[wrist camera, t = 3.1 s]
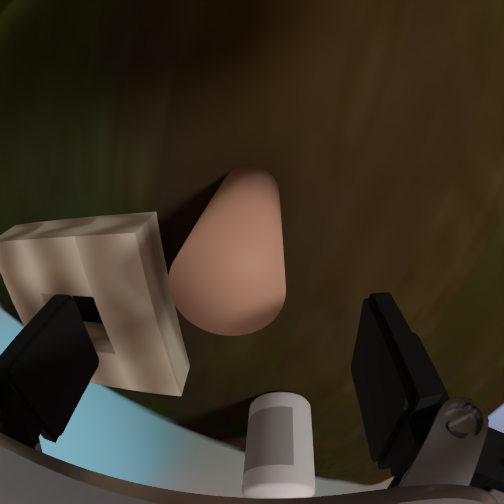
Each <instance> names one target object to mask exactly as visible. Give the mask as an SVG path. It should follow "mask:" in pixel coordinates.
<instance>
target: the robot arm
mask: <svg viewBox="0 0 504 504" xmlns="http://www.w3.org/2000/svg"><path fill="white" fill-rule="evenodd" d="M98 366H99V357H98V355H97V353H96V350H95V348H94V346H93V343H92V341H91V339H90V336H89V334H88V332H87V329H86V327H85V324H84V322H83V319H82V317H81V314H80V312H79V309H78V306H77V304H76V301H75V300H73V298H72V297H71V296H70V295H65V294H55V295H54V296H53V297H52V298H51V299H50V300H49V301H48V302H47V303H46V304H45V305H44V306H43V307H42V308H41V309H40V310H39V311H38V313H37V314H36V315H35V316H34V317H33V318H32V319H31V320H30V321H29V322H28V324H27V325H26V326H25V327H24V328H23V329H22V330H21V332H20V333H19V334H18V335H17V336H16V337H15V339H14V340H13V341H12V342H11V343H10V344H9V346H8V347H7V348H6V349H5V351H4V352H3V353H2V354H1V355H0V504H504V433H501V432H499V431H497V430H495V429H492V428H490V427H488V422H489V421H488V416H487V413H486V411H485V410H484V408H483V407H482V406H481V405H480V404H479V403H478V402H476V401H474V400H472V399H470V398H466V397H455V398H453V399H450V398H449V396H448V394H447V391H446V389H445V387H444V385H443V383H442V381H441V379H440V377H439V375H438V373H437V371H436V369H435V367H434V365H433V363H432V361H431V359H430V357H429V355H428V353H427V352H426V350H425V348H424V346H423V344H422V342H421V340H420V338H419V337H418V336H417V334H415V333H412V332H411V330H410V328H409V326H408V324H407V322H406V321H405V319H404V317H403V315H402V313H401V312H400V310H399V308H398V306H397V305H396V303H395V301H394V299H393V298H392V296H391V294H390V293H388V292H387V293H371V294H370V296H369V299H364V301H363V305H362V311H361V317H360V323H359V328H358V334H357V339H356V344H355V349H354V354H353V359H352V364H351V372H352V377H353V381H354V385H355V389H356V393H357V397H358V401H359V406H360V410H361V414H362V419H363V423H364V427H365V432H366V437H367V441H368V446H369V451H370V456H371V459H372V461H373V462H376V461H377V462H378V467H379V470H381V469H386V468H390V469H391V474H392V475H393V476H394V478H393V480H392V481H391V483H390V485H389V486H388V488H387V489H382V490H375V491H366V492H358V493H352V494H342V495H333V496H321V497H305V498H236V497H222V496H210V495H202V494H194V493H186V492H180V491H173V490H168V489H162V488H157V487H152V486H147V485H142V484H137V483H133V482H129V481H125V480H121V479H117V478H114V477H110V476H107V475H103V474H100V473H97V472H93V471H90V470H87V469H84V468H81V467H78V466H75V465H72V464H70V463H67V462H64V461H62V460H59V459H56V458H54V457H52V456H49V455H47V454H44V453H42V449H41V445H40V440H39V435H40V434H41V435H42V436H43V437H44V438H45V439H47V440H50V441H52V442H55V443H56V441H57V439H58V437H59V436H60V435H62V433H63V432H64V430H65V428H66V426H67V424H68V422H69V420H70V418H71V416H72V414H73V412H74V410H75V408H76V406H77V404H78V403H79V401H80V399H81V397H82V395H83V393H84V391H85V389H86V388H87V386H88V384H89V382H90V380H91V379H92V377H93V375H94V373H95V371H96V370H97V368H98Z"/></svg>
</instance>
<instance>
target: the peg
mask: <svg viewBox="0 0 504 504" xmlns="http://www.w3.org/2000/svg"><path fill="white" fill-rule="evenodd" d="M168 285H169V291H170V295H171V298H172V300H173V302H174V304H175V306H176V307H177V309H178V310H179V311H180V313H181V314H182V315H183V316H184V317H185V318H186V319H187V320H189V321H190V322H191V323H193V324H194V325H196V326H197V327H199V328H201V329H203V330H206V331H208V332H211V333H215V334H219V335H227V336H238V335H245V334H249V333H253V332H255V331H258V330H260V329H262V328H264V327H265V326H266V325H268V324H269V323H270V322H272V321H273V320H274V319H275V317H276V316H277V315H278V314H279V312H280V310H281V309H282V306H283V304H284V300H285V294H286V285H285V268H284V253H283V238H282V224H281V210H280V198H279V188H278V184H277V182H276V180H275V178H274V177H273V175H272V174H271V173H270V172H268V171H267V170H266V169H264V168H262V167H259V166H255V165H244V166H240V167H237V168H235V169H234V170H232V171H231V172H230V173H229V174H228V175H227V176H226V177H225V179H224V180H223V182H222V184H221V185H220V187H219V188H218V190H217V191H216V193H215V194H214V196H213V198H212V199H211V201H210V202H209V204H208V205H207V207H206V209H205V210H204V212H203V213H202V215H201V217H200V218H199V220H198V222H197V223H196V225H195V226H194V228H193V230H192V231H191V233H190V235H189V236H188V238H187V240H186V241H185V243H184V245H183V246H182V248H181V250H180V251H179V253H178V255H177V256H176V258H175V260H174V262H173V264H172V266H171V269H170V272H169V278H168Z"/></svg>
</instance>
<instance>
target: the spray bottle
mask: <svg viewBox="0 0 504 504" xmlns="http://www.w3.org/2000/svg"><path fill="white" fill-rule="evenodd" d="M242 493H243V495H244V496H245V498H305V497H312V496H313V495H314V494H315V474H314V456H313V439H312V425H311V411H310V404H309V403H308V401H307V400H306V399H305V398H304V397H302V396H301V395H298V394H295V393H292V392H283V391H281V392H271V393H267V394H263V395H261V396H259V397H257V398H256V399H255V400H254V401H253V402H252V403H251V406H250V409H249V419H248V431H247V442H246V453H245V464H244V475H243V485H242Z"/></svg>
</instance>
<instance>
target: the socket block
mask: <svg viewBox="0 0 504 504" xmlns="http://www.w3.org/2000/svg"><path fill="white" fill-rule="evenodd" d="M0 272H1V275H2V277H3V280H4V282H5V285H6V287H7V290H8V292H9V294H10V297H11V299H12V301H13V303H14V306H15V308H16V310H17V312H18V314H19V316H20V318H21V321H22V323H23V325H24V327H25V326H26V325H27V324H28V322H29V321H30V320H31V319H32V318H33V317H34V316H35V315H36V314H37V313H38V311H39V310H40V309H41V308H42V307H43V306H44V305H45V304H46V303H47V302H48V301H49V300H50V299H51V298H52V297H53V296H54V295H55V294H65V295H70V296H71V297H72V298H73V296H88V297H93V298H94V301H95V303H96V306H97V309H98V311H99V314H100V317H101V319H102V322H103V323H95V322H85V321H83V322H84V324H85V327H86V329H87V332H88V334H89V336H90V339H91V341H92V343H93V346H94V348H95V350H96V353H97V355H98V357H99V366H98V368H97V370H96V371H95V373H94V375H93V377H92V379H91V380H90V383H95V384H100V385H105V386H111V387H116V388H122V389H128V390H135V391H142V392H149V393H157V394H165V395H174V396H181V395H182V392H183V388H184V384H185V381H186V377H187V374H188V371H189V367H190V365H189V361H188V357H187V353H186V350H185V346H184V342H183V338H182V334H181V330H180V326H179V322H178V318H177V314H176V309H175V305H174V302H173V300H172V298H171V295H170V291H169V285H168V273H167V268H166V263H165V258H164V253H163V248H162V242H161V237H160V231H159V226H158V220H157V214H156V212H146V213H132V214H119V215H107V216H96V217H85V218H74V219H64V220H55V221H46V222H37V223H28V224H20V225H15V226H13V227H12V228H10V229H9V230H7V231H6V232H4V233H3V234H1V235H0ZM73 300H74V299H73Z"/></svg>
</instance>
